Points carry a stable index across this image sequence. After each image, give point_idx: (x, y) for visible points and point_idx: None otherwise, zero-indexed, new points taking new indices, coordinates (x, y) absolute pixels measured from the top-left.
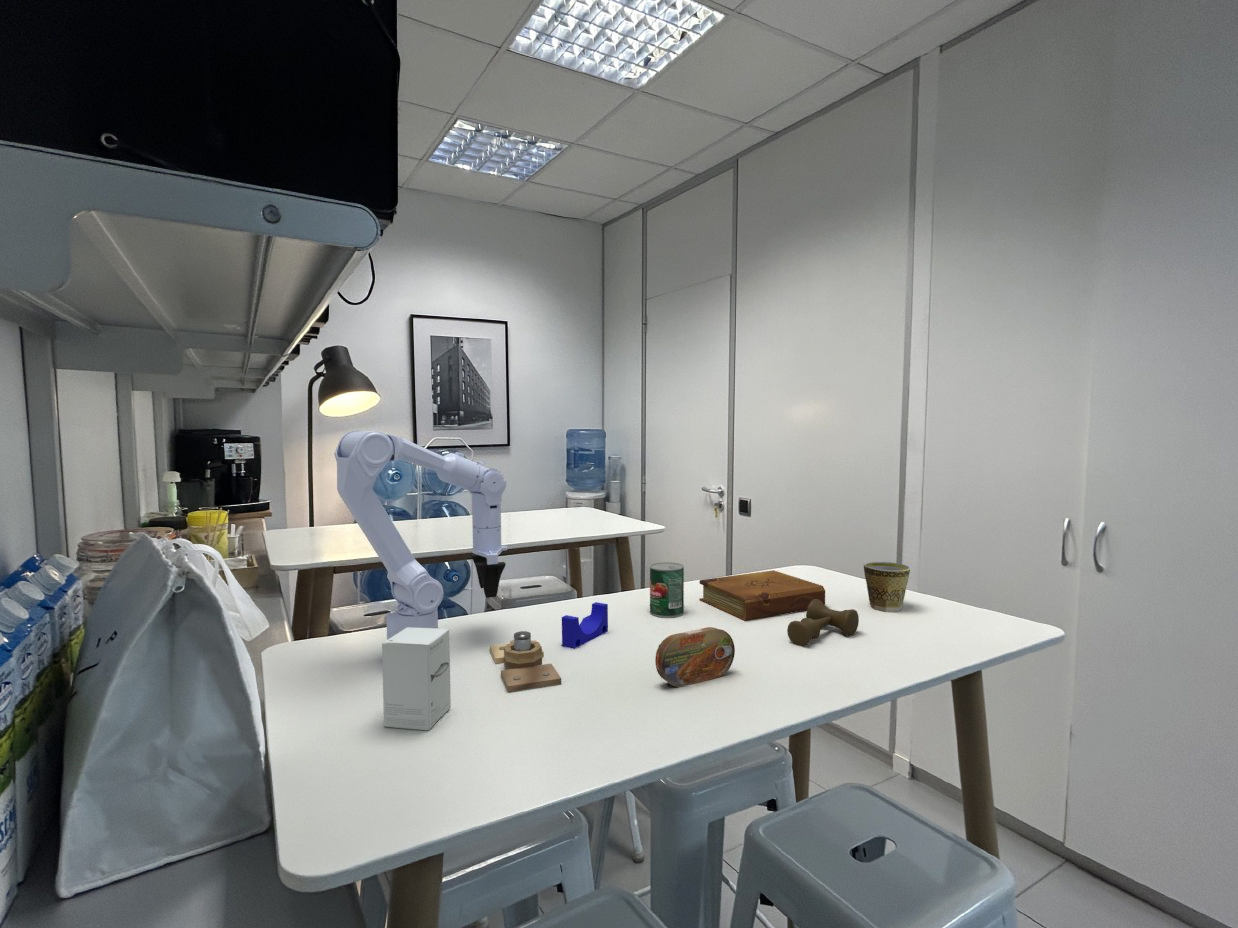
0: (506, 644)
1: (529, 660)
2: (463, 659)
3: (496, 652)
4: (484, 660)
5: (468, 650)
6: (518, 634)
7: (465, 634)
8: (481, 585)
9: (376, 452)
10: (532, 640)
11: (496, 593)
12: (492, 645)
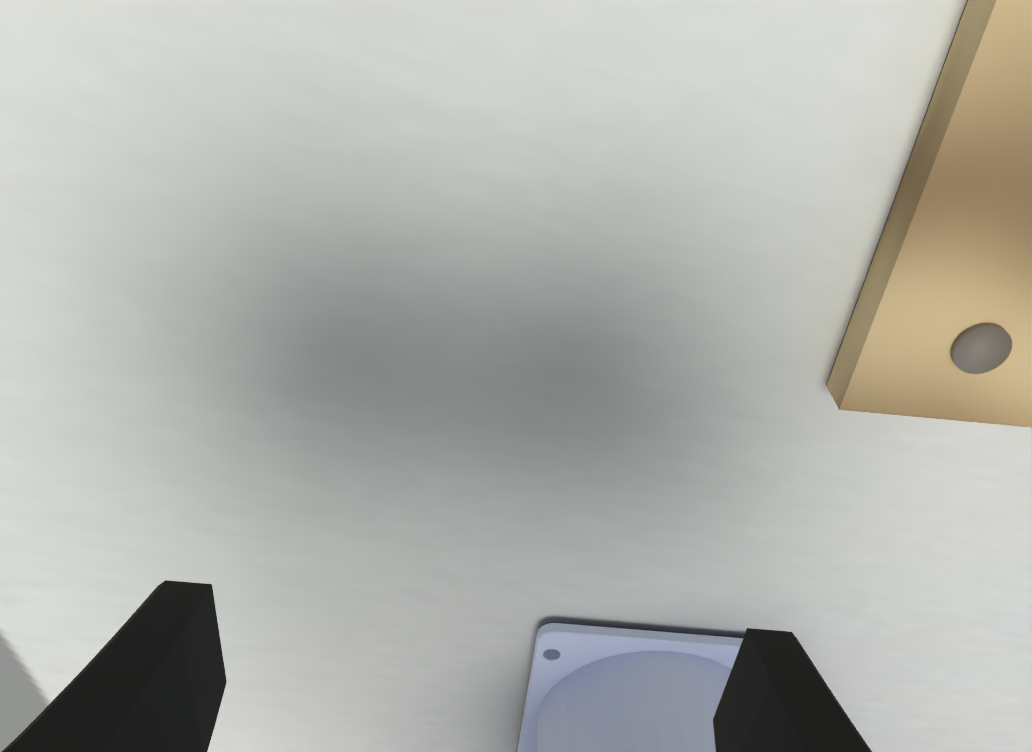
0: (905, 290)
1: None
2: (863, 548)
3: (1023, 402)
4: (982, 454)
5: (718, 497)
6: None
7: (354, 451)
8: (212, 713)
9: None
10: (989, 27)
11: (816, 672)
12: (846, 390)
